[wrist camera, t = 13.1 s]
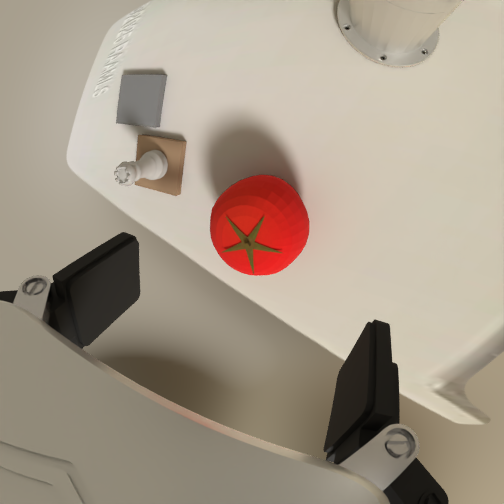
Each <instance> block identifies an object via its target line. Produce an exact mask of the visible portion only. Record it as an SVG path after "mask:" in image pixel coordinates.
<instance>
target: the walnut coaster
mask: <svg viewBox="0 0 504 504" xmlns="http://www.w3.org/2000/svg"><path fill="white" fill-rule="evenodd" d="M151 150H158V151H161V152H162V153H163V154H164V155H165V157H166V159H167V163H168V167H167V172H166V173H165V175H164V176H163V177H162V178H160V179H156V180H149V179H146V178H140V179H139V180H138V181H135V185H138V186H142V187H145V188H149V189H153V190H156V191H160V192H164V193H167V194H171V195H174V196H177V195H179V194H181V184H182V175H183V166H184V158H185V150H186V141H181V140H175V139H169V138H163V137H157V136H150V135H144V134H143V135H138V144H137V156H136V161H138V160H140V158H141V157H142V156H143V155H144V154H145V153H146V152H149V151H151Z"/></svg>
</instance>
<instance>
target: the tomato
mask: <svg viewBox="0 0 504 504" xmlns="http://www.w3.org/2000/svg"><path fill="white" fill-rule="evenodd" d="M210 233H211V239H212V242H213V245H214V247H215V249H216V250H217V252H218V254H219V255H220V257H221V258H222V259H223V260H224V261H225V262H226V263H227V264H228V265H229V266H230V267H232V268H233V269H235V270H237V271H239V272H241V273H244V274H248V275H270V274H274V273H277V272H279V271H281V270H283V269H284V268H286V267H287V266H288V265H289V264H291V263H292V262H293V261H294V260H295V259H296V258H297V256H298V255H299V254H300V253H301V252H302V250H303V248H304V246H305V245H306V242H307V238H308V235H309V218H308V214H307V211H306V208H305V206H304V204H303V202H302V200H301V198H300V197H299V195H298V193H297V192H296V191H295V190H294V189H293V187H292V186H291V185H289V184H288V183H287V182H285V181H284V180H282V179H280V178H277V177H275V176H270V175H257V176H252V177H249V178H246V179H243V180H240V181H238V182H237V183H235V184H233V185H232V186H231V187H229V188H228V189H227V190H226V191H225V192H224V193H223V194H222V195H221V196H220V197H219V198H218V199H217V201H216V203H215V205H214V206H213V208H212V213H211V220H210Z"/></svg>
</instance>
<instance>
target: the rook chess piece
mask: <svg viewBox="0 0 504 504" xmlns="http://www.w3.org/2000/svg"><path fill="white" fill-rule="evenodd" d="M167 167H168V163H167V159H166V157H165V155H164V154H163V153H162V152H161V151H158V150H151V151H149V152H146V153H145V154H144V155H143V156H142V157H141V158H140V160H138V161H136V162H134V161H131V162H122V163H121V164H120V165H119V166H118V167H117V168H116V170H117V171H115V172H114V175H117V178H116V179H115V180H116V182H118V181H119V184H120V185H125V186H130V185H131V184H133V182H135V181H138V180H139V179H140V178H146V179H149V180H156V179H160V178H162V177H163V176H164V175H165V173H166V172H167Z"/></svg>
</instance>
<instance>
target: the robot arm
mask: <svg viewBox="0 0 504 504" xmlns="http://www.w3.org/2000/svg"><path fill="white" fill-rule="evenodd" d="M462 1H463V0H339V4H338V8H337V17H338V23H339V26H340V29H341V31H342V33H343V35H344V37H345V38H346V40H347V41H348V42H349V44H350V45H351V46H352V47H353V48H354V49H355V50H356V51H358V52H359V53H360V54H362V55H363V56H364V57H366V58H368V59H370V60H372V61H374V62H376V63H379V64H382V65H385V66H390V67H402V68H403V67H411V66H414V65H417V64H420V63H421V62H423V61H425V60H426V59H427V58H429V57H430V56H431V55H432V53H433V52H434V50H435V49H436V47H437V44H438V40H439V28H438V27H439V26H440V25H441V24H442V23H443V22H444V21H445V20H446V19H447V18H448V17H449V16H450V14H451V13H452V12H453V11H454V10H455V9H456V8H457V7H458V6H459V5H460V4H461V2H462ZM346 27H348V28H349V30H346V29H345V28H346ZM422 51H423V52H425V55H424V54H423V53H422ZM381 57H384V59H385V60H381ZM53 280H54V282H53V283H50V280H49V279H48V278H47V277H44V276H39V275H37V276H32V277H29V278H27V279H26V280H24V281H23V282H22V283H21V285H20V286H19V289H18V290H17V291H3V292H0V504H448V497H447V495H446V493H445V491H444V490H443V489H442V488H441V486H440V485H439V484H438V483H437V482H436V480H435V479H434V478H433V477H432V476H431V475H430V473H429V472H428V471H427V470H426V469H425V468H424V466H423V465H422V464H421V463H420V461H419V460H418V459H417V458H416V456H417V454H418V452H419V448H420V447H419V440H418V437H417V435H416V434H415V433H414V431H413V430H412V429H410V428H409V427H407V426H405V425H403V424H399V377H398V366H397V364H396V363H393V362H392V351H391V336H390V325H389V324H388V323H385V322H381V321H378V320H374V321H373V322H372V323H371V322H368V323H367V324H366V326H365V328H364V330H363V331H362V333H361V335H360V337H359V339H358V340H357V342H356V344H355V346H354V347H353V349H352V351H351V352H350V354H349V356H348V358H347V359H346V361H345V363H344V364H343V366H342V367H341V369H340V371H339V374H338V378H337V383H336V389H335V395H334V401H333V407H332V412H331V416H330V422H329V426H328V431H327V436H326V441H325V445H324V452H327V457H326V460H323V459H320V458H316V457H313V456H310V455H307V454H304V453H301V452H297V451H294V450H291V449H287V448H284V447H281V446H278V445H275V444H272V443H269V442H266V441H264V440H261V439H258V438H255V437H253V436H250V435H247V434H244V433H242V432H239V431H236V430H234V429H231V428H228V427H226V426H224V425H221V424H219V423H217V422H214V421H212V420H209V419H207V418H205V417H203V416H200V415H198V414H196V413H194V412H192V411H189V410H187V409H185V408H183V407H181V406H179V405H177V404H175V403H173V402H171V401H169V400H167V399H165V398H163V397H161V396H159V395H157V394H155V393H153V392H152V391H149V390H148V389H146V388H144V387H142V386H141V385H139V384H137V383H135V382H133V381H132V380H130V379H128V378H127V377H125V376H123V375H122V374H120V373H118V372H117V371H115V370H113V369H111V368H110V367H108V366H107V365H105V364H104V363H102V362H101V361H99V360H97V359H96V358H94V357H93V356H91V355H90V354H88V353H87V352H85V351H84V350H82V348H83V347H84V346H88V345H90V344H91V343H92V342H93V341H94V340H95V339H96V338H97V337H98V336H99V335H100V334H101V333H102V332H103V331H104V330H106V329H107V328H108V327H109V326H110V325H111V324H112V323H113V322H114V321H115V320H116V319H117V318H118V317H119V316H120V315H122V314H123V313H124V312H125V311H126V310H127V309H128V308H129V307H130V306H131V305H132V304H134V303H135V302H136V301H137V300H138V298H139V296H140V276H139V243H138V241H137V239H136V237H135V236H133V235H131V234H128V233H125V232H122V233H120V234H118V235H117V236H115V237H113V238H112V239H110V240H108V241H107V242H105V243H103V244H102V245H100V246H98V247H97V248H95V249H93V250H92V251H90V252H89V253H87V254H85V255H84V256H82V257H81V258H79V259H77V260H76V261H74V262H73V263H71V264H70V265H68V266H66V267H65V268H63V269H62V270H60V271H59V272H58V273H56V274H54V275H53ZM329 461H331V462H334V463H331V462H329Z"/></svg>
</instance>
